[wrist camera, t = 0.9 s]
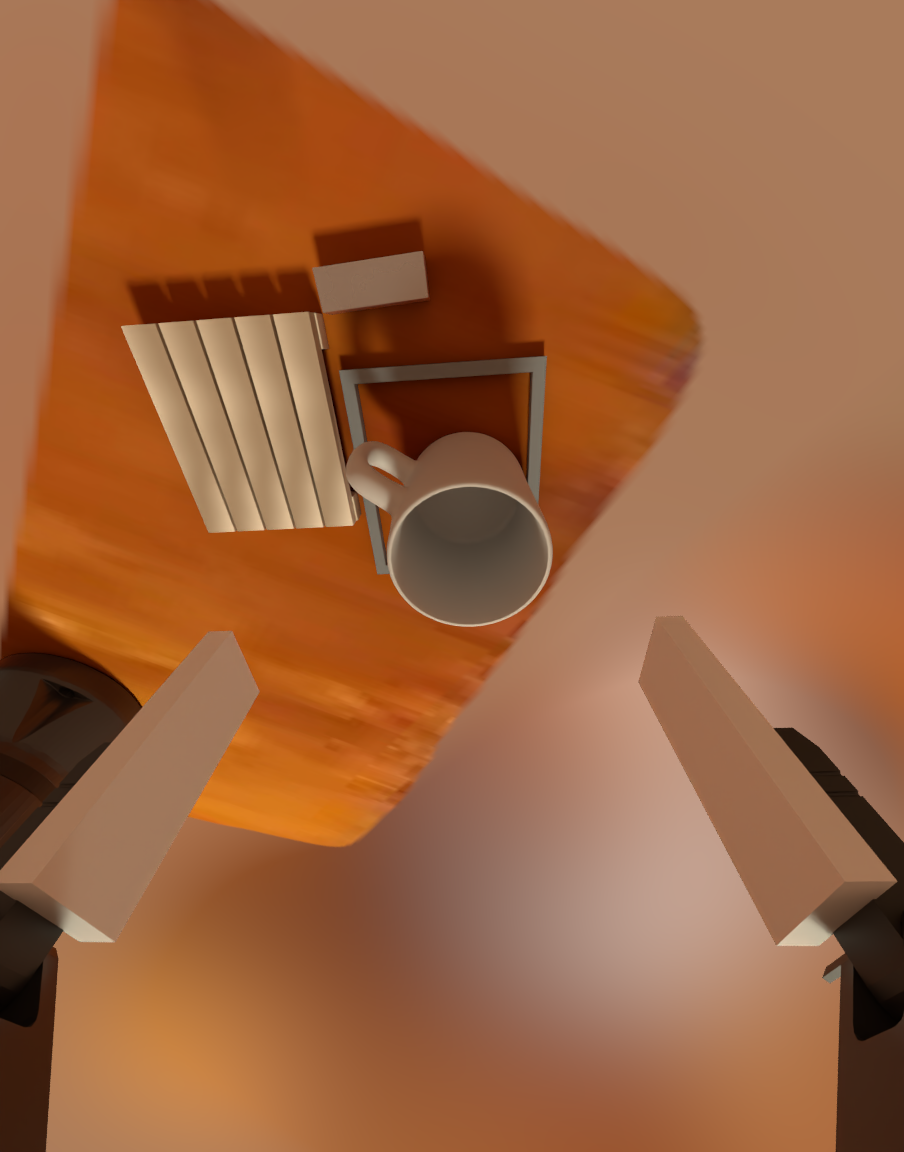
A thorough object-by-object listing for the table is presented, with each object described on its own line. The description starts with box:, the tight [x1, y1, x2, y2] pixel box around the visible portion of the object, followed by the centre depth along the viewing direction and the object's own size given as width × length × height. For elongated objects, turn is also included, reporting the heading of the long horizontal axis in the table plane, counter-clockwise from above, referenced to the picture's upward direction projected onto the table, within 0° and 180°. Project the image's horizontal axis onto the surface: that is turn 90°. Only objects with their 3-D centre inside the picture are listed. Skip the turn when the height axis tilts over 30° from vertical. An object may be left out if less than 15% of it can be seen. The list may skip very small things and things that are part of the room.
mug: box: [346, 432, 553, 626], centre depth 23 cm, size 12×8×11 cm
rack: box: [121, 312, 361, 533], centre depth 26 cm, size 11×13×2 cm
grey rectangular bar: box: [312, 251, 430, 315], centre depth 22 cm, size 6×2×2 cm, turn 97°
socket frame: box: [339, 356, 547, 574], centre depth 28 cm, size 13×15×1 cm
